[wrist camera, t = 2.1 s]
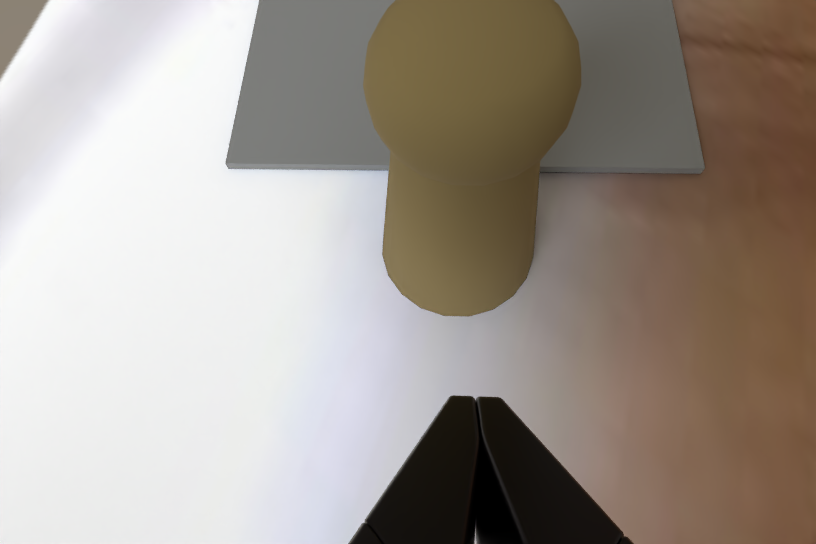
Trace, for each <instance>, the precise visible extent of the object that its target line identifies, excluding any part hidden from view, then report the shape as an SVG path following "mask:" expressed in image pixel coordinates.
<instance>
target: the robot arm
mask: <svg viewBox="0 0 816 544" xmlns="http://www.w3.org/2000/svg"><path fill="white" fill-rule="evenodd" d="M475 529H476V541H477V544H633V543H632V541H631V540H630V539H629V538H628V537H626V536H624V534H623V532H622V531H621V530H620V529H619V527H618V526H617V525H616V524H615V523H614V522H613V521H612V520H611V519H610V517H609V516H608V515H607V514H606V513H605V512H604V511H603V510H602V509H601V508H600V506H599V505H598V504H597V503H596V502H595V501H594V500H593V499H592V498H591V497H590V495H589V494H588V493H587V492H586V491H585V490H584V489H583V488H582V487H581V485H580V484H579V483H578V482H577V481H576V480H575V479H574V478H573V477H572V476H571V474H570V473H569V472H568V471H567V470H566V469H565V468H564V467H563V466H562V465H561V463H560V462H559V461H558V460H557V459H556V458H555V457H554V456H553V455H552V453H551V452H550V451H549V450H548V449H547V448H546V447H545V446H544V445H543V444H542V442H541V441H540V440H539V439H538V438H537V437H536V436H535V435H534V434H533V433H532V431H531V430H530V429H529V428H528V427H527V426H526V425H525V424H524V423H523V421H522V420H521V419H520V418H519V417H518V416H517V415H516V414H515V413H514V412H513V410H512V409H511V408H510V407H509V406H508V405H507V404H506V403H505V402H504V401H503V399H501V398H499V397H478V398H476V401H475V399H474V398H473V397H471V396H450V397H449V398H448V400H447V401H446V402H445V404H444V405H443V407H442V408H441V410H440V411H439V413H438V414H437V416H436V417H435V418H434V420H433V421H432V423H431V424H430V426H429V427H428V429H427V430H426V432H425V433H424V435H423V436H422V437H421V439H420V440H419V442H418V443H417V445H416V446H415V448H414V449H413V451H412V452H411V453H410V455H409V456H408V458H407V459H406V461H405V462H404V464H403V465H402V467H401V468H400V469H399V471H398V472H397V474H396V475H395V477H394V478H393V480H392V481H391V483H390V484H389V485H388V487H387V488H386V490H385V491H384V493H383V494H382V496H381V497H380V499H379V500H378V502H377V503H376V504H375V506H374V507H373V509H372V510H371V512H370V513H369V515H368V516H367V518H366V519H365V523H362V524H361V526H360V527H359V529H358V530H357V532H356V533H355V535H354V536H353V538H352V539H351V540H350V542H349V543H348V544H474V540H475Z"/></svg>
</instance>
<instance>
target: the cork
mask: <svg viewBox="0 0 816 544" xmlns="http://www.w3.org/2000/svg"><path fill="white" fill-rule="evenodd" d="M580 88H581V60H580V51H579V42H578V40H577V37H576V35H575V33H574V31H573V29H572V27H571V25H570V24H569V22H568V20H567V18H566V16H565V14H564V13H563V11H562V9H561V7H560V5H559V4H557V3H556V2H555V1H554V0H395V1H394V2H393V3H392V4H391V5H390V6H389V7H388V8H387V10H386V12H385V13H384V15H383V16H382V18H381V19H380V21H379V23H378V25H377V27H376V29H375V30H374V32H373V34H372V36H371V38H370V40H369V42H368V46H367V53H366V59H365V69H364V80H363V89H364V94H365V99H366V103H367V106H368V110H369V113H370V116H371V119H372V122H373V125H374V128H375V130H376V131H377V133H378V135H379V136H380V138H381V140H382V141H383V142H384V144H385V145H386V146H387V147H388V149H389V150H390V162H389V175H388V187H387V199H386V212H385V224H384V237H383V253H382V255H383V259H384V262H385V265H386V269H387V272H388V276H389V277H390V278H391V280H392V281H393V283H394V284H395V285H396V287H397V288H398V290H399V291H400V292H401V294H402V295H404V296H405V297H407V298H408V299H409V300H411V301H412V302H413V303H415V304H416V305H418V306H419V307H420V308H423V309H426V310H429V311H432V312H435V313H438V314H441V315H444V316H472V315H475V314H479V313H482V312H486V311H489V310H493V309H494V308H496V307H497V306H499V305H500V304H502V303H503V302H505V301H506V300H508V299H509V298H511V297H512V296H513V295H514V294H515V293H516V291H517V290H518V289H519V287H520V286H521V285H522V283H523V282H524V281H525V279H526V278H527V275H528V272H529V268H530V265H531V262H532V259H533V251H534V238H535V225H536V211H537V198H538V185H539V172H540V160H541V159H542V158H543V157H544V156H545V154H546V153H547V152H548V151H549V150H550V148H551V147H552V146H553V145H554V143H555V142H556V141H557V140H558V139H559V137H560V136H561V135H562V134H563V132H564V131H565V130H566V129H567V127H568V124H569V121H570V119H571V116H572V113H573V110H574V107H575V104H576V101H577V97H578V94H579V91H580Z"/></svg>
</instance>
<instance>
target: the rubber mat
mask: <svg viewBox="0 0 816 544" xmlns="http://www.w3.org/2000/svg"><path fill="white" fill-rule="evenodd" d="M394 1H395V0H259V5H258V10H257V14H256V19H255V24H254V29H253V34H252V38H251V43H250V48H249V53H248V58H247V62H246V67H245V72H244V77H243V82H242V86H241V91H240V96H239V101H238V106H237V110H236V115H235V120H234V125H233V130H232V134H231V139H230V144H229V149H228V154H227V158H226V165H227V167H228V168H229V169H311V170H389V162H390V150H389V149H388V147H387V146H386V145H385V144H384V142H383V141H382V140H381V138H380V136H379V135H378V133H377V131H376V130H375V128H374V125H373V122H372V119H371V116H370V113H369V110H368V106H367V103H366V99H365V94H364V89H363V80H364V69H365V59H366V53H367V46H368V42H369V40H370V38H371V36H372V34H373V32H374V30H375V29H376V27H377V25H378V23H379V21H380V19H381V18H382V16H383V15H384V13H385V12H386V10H387V8H388V7H389V6H390V5H391V4H392V3H393V2H394ZM554 1H555V2H556V3H557V4H559V5H560V7H561V9H562V11H563V13H564V14H565V16H566V18H567V20H568V22H569V24H570V25H571V27H572V29H573V31H574V33H575V35H576V37H577V40H578V42H579V51H580V60H581V88H580V91H579V94H578V97H577V101H576V104H575V107H574V110H573V113H572V116H571V119H570V121H569V124H568V127H567V129H566V130H565V131H564V132H563V134H562V135H561V136H560V137H559V139H558V140H557V141H556V142H555V143H554V145H553V146H552V147H551V148H550V150H549V151H548V152H547V153H546V154H545V156H544V157H543V158H542V159H541V160H540V172H592V173H686V174H701V173H702V171H703V170H704V169H705V165H704V160H703V155H702V150H701V145H700V140H699V135H698V130H697V125H696V120H695V115H694V110H693V105H692V100H691V95H690V90H689V85H688V80H687V74H686V69H685V64H684V59H683V54H682V49H681V44H680V39H679V34H678V29H677V24H676V19H675V14H674V9H673V4H672V0H554Z"/></svg>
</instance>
